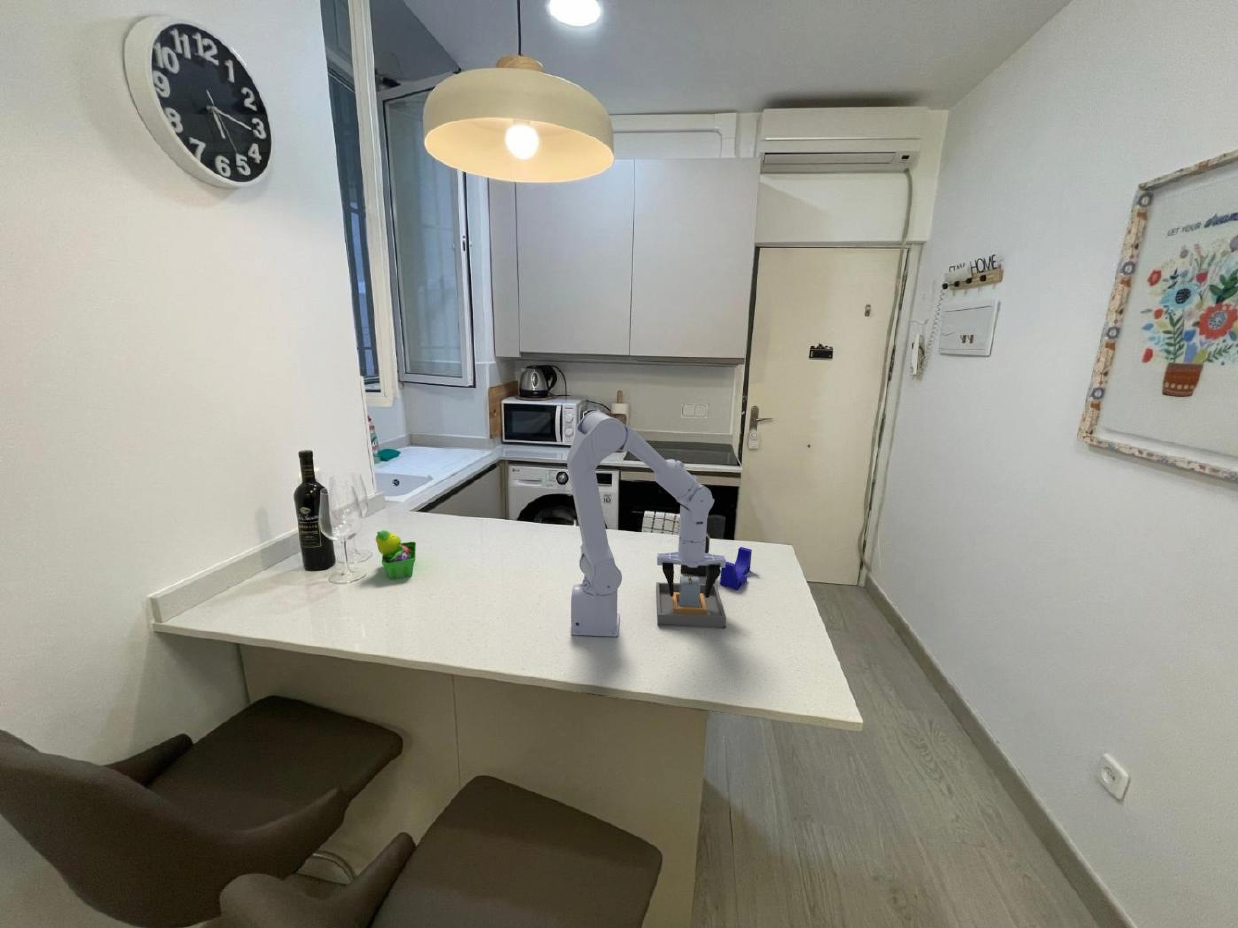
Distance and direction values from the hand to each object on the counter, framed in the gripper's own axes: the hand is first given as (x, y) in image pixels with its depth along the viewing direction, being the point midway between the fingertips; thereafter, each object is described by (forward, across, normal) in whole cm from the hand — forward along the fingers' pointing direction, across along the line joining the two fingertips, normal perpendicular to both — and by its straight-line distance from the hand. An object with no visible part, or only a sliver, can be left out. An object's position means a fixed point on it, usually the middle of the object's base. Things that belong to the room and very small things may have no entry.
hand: (689, 594), depth 108 cm
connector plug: (+3, 0, 0) cm, 3 cm away
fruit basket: (+4, -72, +13) cm, 73 cm away
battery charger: (+4, +3, +18) cm, 19 cm away
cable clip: (+4, +14, +16) cm, 21 cm away
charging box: (+3, 0, 0) cm, 3 cm away
